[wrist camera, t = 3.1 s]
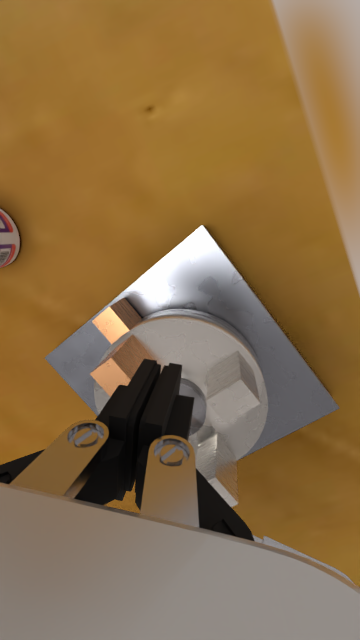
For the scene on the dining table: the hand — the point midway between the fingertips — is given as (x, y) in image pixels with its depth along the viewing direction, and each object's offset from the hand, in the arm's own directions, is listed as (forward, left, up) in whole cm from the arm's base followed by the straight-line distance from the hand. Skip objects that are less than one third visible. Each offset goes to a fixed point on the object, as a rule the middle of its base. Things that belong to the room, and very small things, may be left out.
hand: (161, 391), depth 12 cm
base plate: (-4, +4, -13) cm, 14 cm away
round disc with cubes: (-3, +4, -10) cm, 12 cm away
